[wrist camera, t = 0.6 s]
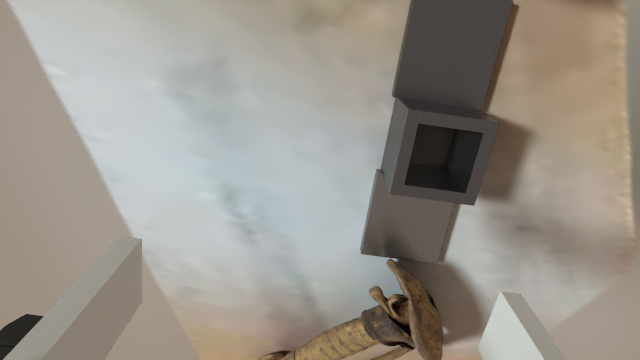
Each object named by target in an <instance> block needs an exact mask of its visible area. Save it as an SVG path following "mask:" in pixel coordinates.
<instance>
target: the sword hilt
mask: <svg viewBox="0 0 640 360" xmlns="http://www.w3.org/2000/svg"><path fill="white" fill-rule="evenodd" d="M387 266H388V267H389V268H390V270H391V271H392V272H393V273H394V274H395V275H396V276H397V280H398V282H399V284H400V287H401V290H402V291H403V293H404V294H405V295H406V296H407V298H408V299H409V300H408V301H406V302H402V303H398V304H394V302H395V301H400V300H404V301H405V297H404V295H400V294H393V295H392V296H391V297H390V298H388V299H387V298H386V297H385V296H384V295H383V292H382V290H381V288H380V287H378V286H374V287H372V288H371V289H369V291H370V295H371V296H372V298H373V299H374V300H375V301H377V302H378V303H379V304H380V305H378V306H376V307H374V308H371V309H369V310H365V311H363V312H362V317H360V318H357V319H353V320H352V321H349V322H345V323H343V324H341V325H339V326H335V327H333V328H332V329H330V330H327V331H324V332H323V333H322V334H321V335H319V336H316V337H315V338H314V339H313V340H311V341H309V342H307V343H306V344H305V345H303V346H302V347H300V348H298V349H297V350H295V351H292V352H290V353H288V354H287V355H286V356H284V355H283V354H281V353H274V354H270V355H265V356H263V357H262V358H260V359H259V360H339V359H343V358H345V357H347V356H349V355H354V354H356V353H357V352H359V351H363V350H365V349H367V348H368V347H369V346H372V345H374V344H376V343H377V342H380V343H381V344H383V345H386V346H396V345H400V346H401V347H399V348H397V349H395V350H393V351H390V352H388V353H386V354H384V355H382V356H380V357H377V358H374V359H372V360H394V359H395V358H397V357H399V356H401V355H403V354H404V353H405V352H406V351H408V350H409V349H411V350H413V349H414V348H417V350H418V352H419V354H420V355H421V357H422V358H423V359H424V360H441V358H442V343H443V329H442V323H441V318H440V315H439V312H438V310H437V308H436V306H435V303H434V301H433V299H432V297H431V295H430V294H429V292H428V291H427V290H426V289H425V288H424V287H423V286H422V285H421V284H420V283H419V282H418V281H417V280H416V279H415V278H414V277H413V276H412V275H411V274H409V273H408V272H406V271H405V270H404V269H402V268H401V267H400V266H399V265H398V264H397V263H396V262H395V261H393V260H392V259H389V260H388V261H387Z"/></svg>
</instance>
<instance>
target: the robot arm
mask: <svg viewBox="0 0 640 360" xmlns="http://www.w3.org/2000/svg"><path fill="white" fill-rule="evenodd" d="M141 302H142V239H139V238H132V237H125V236H119V237H118V238H117V239H116V240H115V241H114V242H113V243H112V245H111V246H110V247H109V248H108V249H107V250H106V251H105V252H104V253H103V254H102V255H101V256H100V257H99V258H98V260H96V261H95V263H94V264H93V265H92V266H91V267H90V268H89V269H88V270H87V271H86V272H85V273H84V274H83V275H82V276H81V278H79V280H78V281H77V282H76V283H75V284H74V285H73V286H72V287H71V288H70V289H69V290H68V291H67V292H66V294H64V296H63V297H62V298H61V299H60V300H59V301H58V302H57V303H56V304H55V305H54V306H53V307H52V308H51V309H50V310H49V312H47V314H46V315H45V316H37V315H30V314H25V315H24V316H22V317H20V318H18V319H17V320H15V321H13V322H11V323H10V324H8V325H6V326H5V327H4V328H3V329H2V330H1V331H0V360H105V358H106V356H107V355H108V353H109V352H110V350H111V349H112V347H113V345H114V344H115V342H116V341H117V339H118V338H119V336H120V335H121V333H122V332H123V330H124V329H125V327H126V326H127V324H128V322H129V321H130V319H131V318H132V316H133V315H134V313H135V312H136V310H137V308H138V307H139V305H140V304H141ZM478 350H479V352H480V354H481V356H482V358H483V360H567V359H566V358H565V356H564V355H563V353H562V352H561V351H560V349H559V348H558V346H557V345H556V344H555V342H554V341H553V339H552V338H551V336H550V335H549V334H548V332H547V331H546V329H545V328H544V327H543V325H542V324H541V322H540V321H539V319H538V318H537V317H536V315H535V314H534V312H533V311H532V310H531V308H530V307H529V305H528V304H527V302H526V301H525V300H524V298H523V297H522V295H521V294H517V293H510V292H503V291H500V294H499V296H498V299H497V301H496V304H495V306H494V309H493V311H492V314H491V316H490V319H489V321H488V323H487V326H486V328H485V331H484V333H483V336H482V338H481V341H480V343H479V346H478Z"/></svg>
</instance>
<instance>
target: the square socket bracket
mask: <svg viewBox="0 0 640 360" xmlns="http://www.w3.org/2000/svg"><path fill="white" fill-rule="evenodd" d="M512 3H513V0H411V3H410V8H409V13H408V18H407V23H406V27H405V32H404V37H403V42H402V47H401V52H400V57H399V62H398V67H397V72H396V76H395V81H394V86H393V91H392V96H393V97H396V98H395V103H394V108H393V113H392V117H391V122H390V127H389V132H388V137H387V141H386V146H385V151H384V156H383V161H382V165H381V170H379V169H376V174H375V179H374V184H373V189H372V194H371V199H370V204H369V209H368V213H367V218H366V223H365V228H364V233H363V238H362V243H361V248H360V250H361V254H365V255H373V256H381V257H389V258H396V259H404V260H412V261H420V262H428V263H435V264H437V263H438V259H439V256H440V252H441V249H442V245H443V242H444V238H445V235H446V231H447V228H448V224H449V221H450V218H451V214H452V211H453V207H454V204H455V203H458V204H465V205H473V206H474V204H475V201H476V198H477V195H478V191H479V188H480V185H481V182H482V179H483V175H484V172H485V169H486V166H487V162H488V159H489V156H490V153H491V149H492V146H493V143H494V140H495V137H496V133H497V130H498V127H499V124H500V122H499V121H497V120H495V119H493V118H492V117H490V116H488V115H486V114H485V113H483V112H481V111H479V110H482V107H483V103H484V100H485V97H486V93H487V90H488V86H489V83H490V79H491V76H492V72H493V69H494V65H495V62H496V59H497V55H498V52H499V48H500V45H501V41H502V38H503V34H504V31H505V27H506V24H507V21H508V17H509V14H510V10H511V7H512ZM478 109H479V110H478ZM418 124H425V125H432V126H439V127H446V128H453V129H456V132H455V136H454V140H453V143H452V147H451V151H450V154H449V158H448V162H447V165H446V169H444V168H436V167H429V166H422V165H415V164H409V162H410V158H411V154H412V150H413V145H414V141H415V137H416V132H417V128H418Z"/></svg>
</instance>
